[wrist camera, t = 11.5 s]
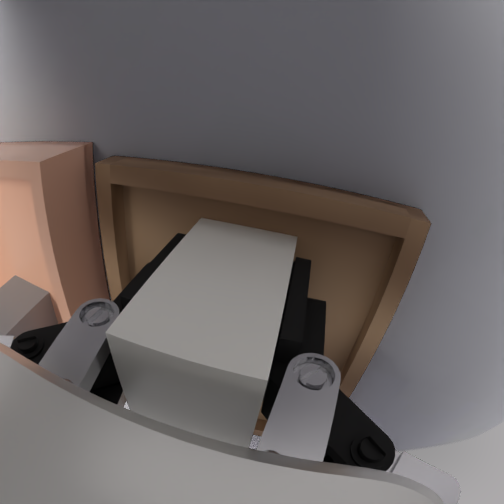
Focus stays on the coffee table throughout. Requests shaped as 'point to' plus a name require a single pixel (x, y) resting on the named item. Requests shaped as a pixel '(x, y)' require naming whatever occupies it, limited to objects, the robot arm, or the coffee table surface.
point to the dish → (51, 222)
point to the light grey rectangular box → (206, 331)
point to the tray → (276, 220)
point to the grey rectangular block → (24, 307)
